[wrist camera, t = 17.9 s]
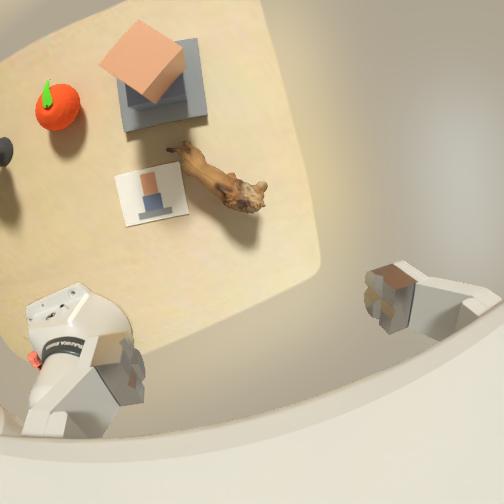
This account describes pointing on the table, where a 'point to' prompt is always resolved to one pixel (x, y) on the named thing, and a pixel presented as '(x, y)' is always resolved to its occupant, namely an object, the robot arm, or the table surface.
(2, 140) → the sundae
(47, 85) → the clementine
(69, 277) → the table surface
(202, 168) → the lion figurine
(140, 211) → the page
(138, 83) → the terracotta brick
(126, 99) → the tower base
